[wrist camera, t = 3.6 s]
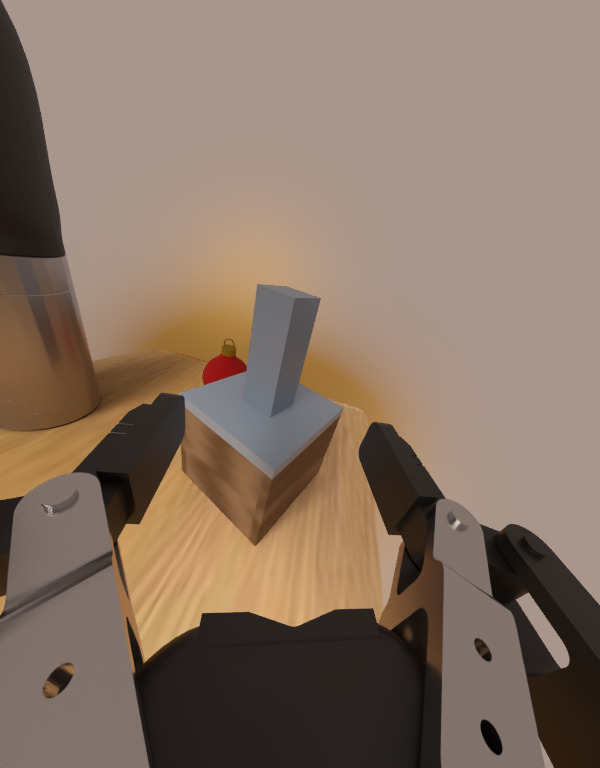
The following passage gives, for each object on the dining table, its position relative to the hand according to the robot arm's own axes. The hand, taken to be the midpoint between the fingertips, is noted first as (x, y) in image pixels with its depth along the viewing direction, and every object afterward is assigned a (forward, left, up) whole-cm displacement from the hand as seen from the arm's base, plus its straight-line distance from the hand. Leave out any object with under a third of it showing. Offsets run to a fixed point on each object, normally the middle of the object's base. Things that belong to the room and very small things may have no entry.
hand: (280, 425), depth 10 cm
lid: (-7, +8, -8) cm, 13 cm away
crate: (-7, +8, -16) cm, 19 cm away
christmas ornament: (-21, +15, -16) cm, 30 cm away
